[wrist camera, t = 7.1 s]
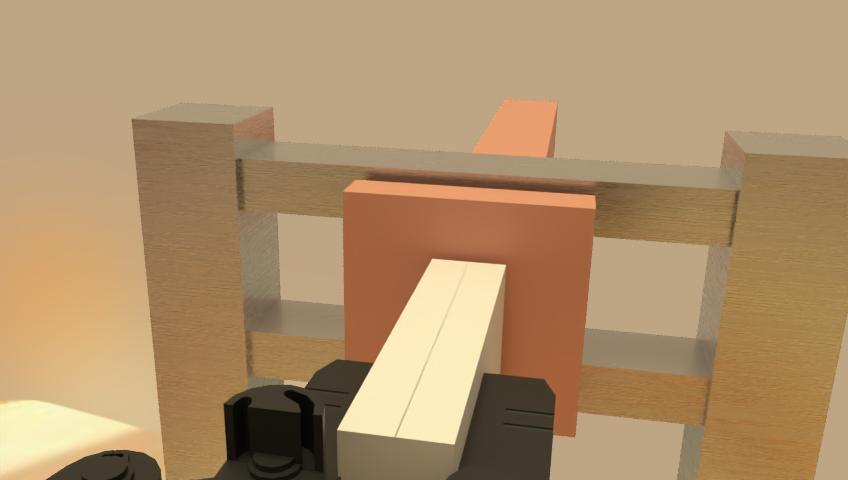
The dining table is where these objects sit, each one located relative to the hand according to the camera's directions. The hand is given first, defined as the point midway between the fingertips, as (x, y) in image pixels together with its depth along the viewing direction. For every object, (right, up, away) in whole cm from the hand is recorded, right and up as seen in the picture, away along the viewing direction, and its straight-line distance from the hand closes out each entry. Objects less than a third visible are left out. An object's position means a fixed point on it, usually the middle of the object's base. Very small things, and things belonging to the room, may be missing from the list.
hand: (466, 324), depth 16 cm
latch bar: (+2, +1, +11) cm, 12 cm away
